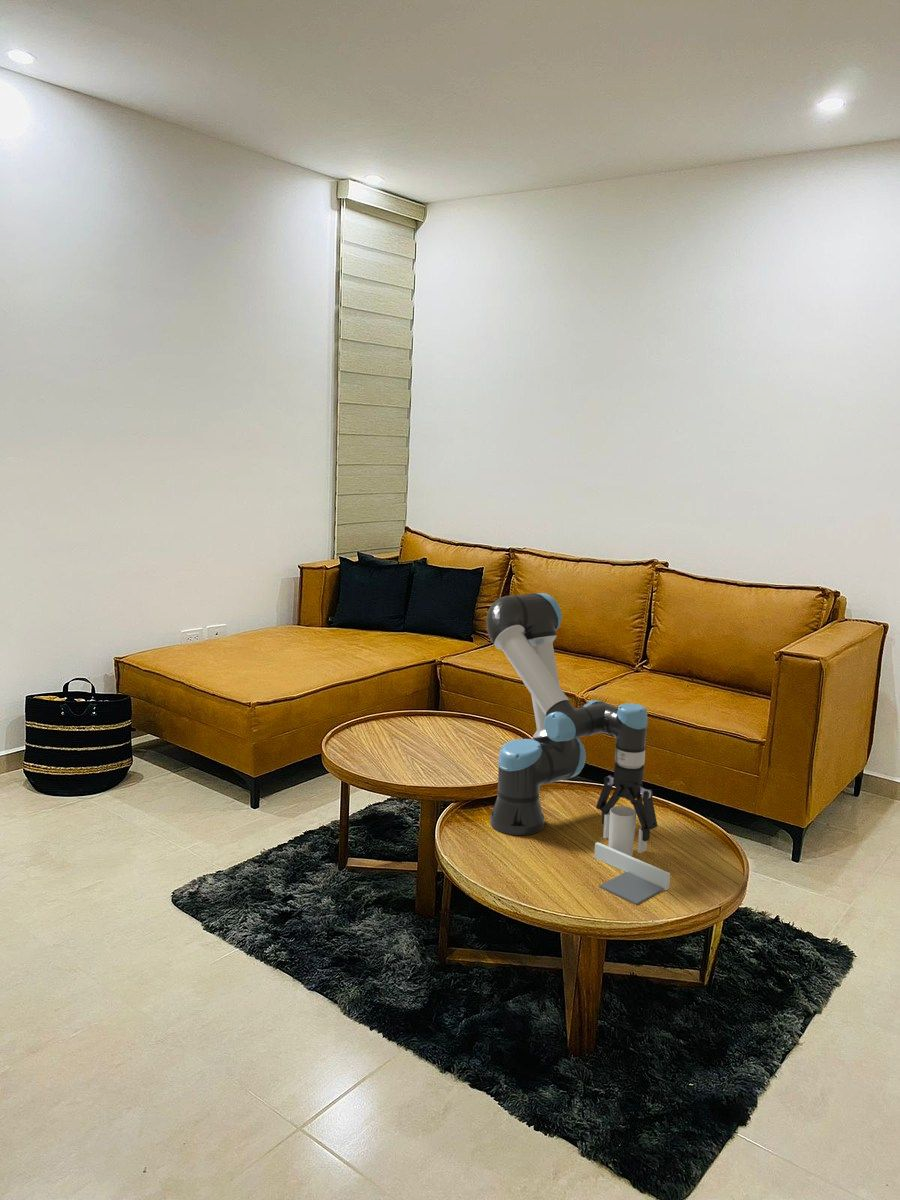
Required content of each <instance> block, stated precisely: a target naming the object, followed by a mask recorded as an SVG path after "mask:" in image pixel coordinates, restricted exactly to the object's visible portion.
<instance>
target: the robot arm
mask: <svg viewBox="0 0 900 1200" xmlns="http://www.w3.org/2000/svg"><path fill="white" fill-rule="evenodd" d="M562 620H563V615H562V610H561V607H560V605H559V603H558V601H557V600H556V599H555V598H554V597H553V596H551V595H549V594H548V593H543V592H542V593H541V592H540V593H539V592H538V593H537V592H535V593H534V592H533V593H526V594H515V595H506V596H502V597H500V598H498V599H496V600H495V601H493V602H492V604H491V605H490V607H489V609H488V611H487V613H486V619H485V623H486V624H485V625H486V631H487V634H488V637H489V639H490V641H491V642H492V644H493V646H494V647H495V649H497V650H501V651H502V652H503V654H504V655H505V657H506V659H507V660H508V661H509V663H510V664H511V666H512V667H513V669H514V670H515V673H517V675H518V677H519V678H520V680H521V681H522V682H523V684H524V686H525V687H526V689H527V690H528V692H529V693H530V696H531V702H532V707H533V713H534V721H535V725H536V731H535V733H534V734H533V735H532V739H531V738H524V739H521V738H517V739H512V740H509V741H507V742H505V743H504V744H502V746H501V747H500V749H499V755H498V759H497V765H498V771H497V772H498V774H497V778H498V779H497V797H496V800H495V802H494V805H493V808H492V810H491V813H490V821H489V823H490V826H491V827H492V828H493V829H495V830H496V831H498V832H500V833H502V834H507V835H511V836H512V835H513V836H529V835H533V834H534V835H535V834H536V833H539V832H541V831H542V830H543V829H544V828H545V816H544V813H543V810H542V805H541V802H540V788H541V787H540V786H544V785H547V784H552V783H556V782H559V781H567V780H569V779H571V778H575V777H577V776H578V775H579V774H581V772H582V770H583V768H584V767H585V765H586V755H587V754H586V749H585V745H584V744H583V742H581V739H580V738H582V737H588V736H594V735H598V734H607V735H609V736H611V737H613V738H615V753H614V761H615V763H614V766H613V767H614V770H613V775H612V774H610V775H608V776H605V777H603V787H602V789H601V792H600V795H599V797H598V800H597V802H596V806H595V807H596V809H597V810H600V812H601V813H602V814H601V815H602V817H601V824H602V825H603V833H602V834H603V835H602V838H603V839H609V823H610V809H611V808H612V807H615V806H616V804H617V802H618V801H619V800H620V799H621V798H623V799H626V800H627V801H630V802H629V803H630V804H631V805H632V806H633V809H634V810H635V811H636V817H637V818H638V821H639V823H640V826H641V827H640V828H638V838H637V839H638V840H637V841H638V842H637V853H639V854H642V853H643V852H645V851H647V844H648V841H649V840H650V836H651V835H650V834H651V830H654V829H655V828H657V827H658V821H657V816H656V811H655V806H654V801H653V796H654V795H653V794H654V791H653V789H651V788H649V789H647V788H644V786H643V781H644V774H645V766H644V765H645V763H646V762H645V761H646V742H647V739H646V738H647V729H648V724H649V723H648V710H647V708H646V707H645V706H643V705H641V704H637V703H633V702H631V703H630V702H627V703H621V704H620V705H619V706H618V707H617V706H615V705H612V704H610V703H608V702H605V701H602V700H597V699H591V700H589V701H587V702H586V703H585V704H584V705H583V706H582V707H578V708H577V707H574V705H573V703H572V702H571V701H570V699H569V698H568V696H567V695H566V693H565V692H564V691H563V689H562V688H561V685H560V680H559V679H560V678H559V674H558V672H559V671H558V667H557V661H556V657H555V650H554V645H553V644H554V641H555V640H556V639H557V630H558V629H559V628H560V627H561V625H562V624H561V623H562ZM613 786H614V788H615V789H614V791H613V793H612V795H611V792H612V789H613ZM610 795H611V796H610Z"/></svg>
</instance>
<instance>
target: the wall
mask: <svg viewBox="0 0 900 1200" xmlns="http://www.w3.org/2000/svg"><path fill="white" fill-rule="evenodd" d="M593 858H594V859H596V860H598V861H600V862H603V863H605V864H607V865H610V866H612V867H614V868H616V869H618V870H620V871H622V872H624V873H625V872H628V873H630V874H633V875H635V876H637V877H639V878H642V879H644V880H646V881H648V882H651V883H653V884H655V885H657V886H659V887H662V888H664V890H665V891H667V890H669V889H670V881H671V872H668V871H666V870H663V869H662V868H659V867H657V866H654V865H653V864H650V863H647V862H645V861H642V859H641V860H640V859H638V858H636V857H633V856H632V857H631V856H629V855H627V854H624V853H622V852H620V851H617V850H615V849H613V848H610V847H609V845H606V844H604V843H601V842H598V841H597V842H595V843H594V856H593Z"/></svg>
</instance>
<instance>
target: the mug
mask: <svg viewBox="0 0 900 1200" xmlns="http://www.w3.org/2000/svg"><path fill="white" fill-rule="evenodd" d="M609 813H610V823H609V837H608V847H610V848H613V849H615V850H617V851H620V852H622V853H624V854H627V855H629V856H631V857H633V853H634V844H635V834H636V827H637V814H636V811H635V808H633V807H629V806H624V805H615V806H614V807H612V808H611V809H610V811H609Z"/></svg>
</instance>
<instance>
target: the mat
mask: <svg viewBox="0 0 900 1200" xmlns="http://www.w3.org/2000/svg"><path fill="white" fill-rule="evenodd" d="M598 887H599V888H600V889H602V890H604V891H606V892H607V893H608V892H609V893H611V894H612V895H615V896H617V897H619V898H621V899H624V900H626V901H627V902H629V903H632V904H634V905H636V906H637V905H639V904H641V903H642V902H645V901H646V900H649V899H650V898H652V897H653V896H655V895H658V894H659V893H661V892H663V891H664V890H665V889H664V888H662V887H659V886H657V885H655V884H653V883H651V882H648V881H646V880H644V879H642V878H639V877H637V876H635V875H633V874H630V873H628V872H625V871H624V872H623V873H621V874H619V875H617V876H615V877H613V878H611V879H609V880H608V881H605V882H603V883H601V884H599V885H598Z"/></svg>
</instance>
